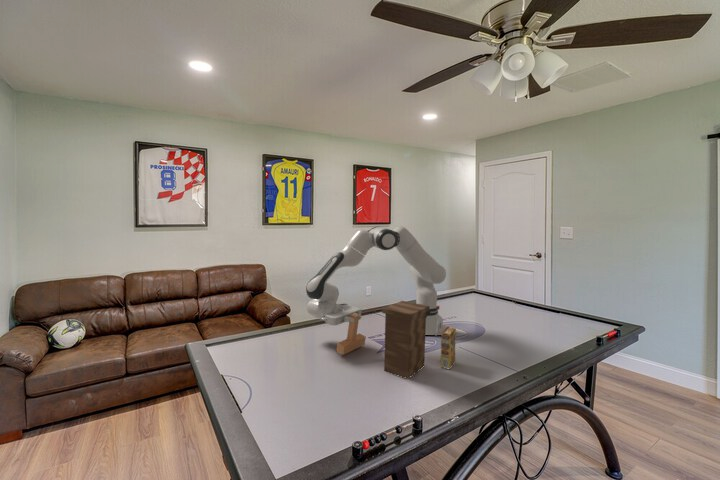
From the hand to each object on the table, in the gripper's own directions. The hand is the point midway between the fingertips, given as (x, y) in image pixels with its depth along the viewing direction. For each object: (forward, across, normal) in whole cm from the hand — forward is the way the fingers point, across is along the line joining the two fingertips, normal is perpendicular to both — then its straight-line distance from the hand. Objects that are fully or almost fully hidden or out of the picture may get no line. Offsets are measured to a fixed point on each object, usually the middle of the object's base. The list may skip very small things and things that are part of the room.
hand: (357, 319), depth 153 cm
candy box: (+38, +15, +16) cm, 44 cm away
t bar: (-4, 0, +6) cm, 7 cm away
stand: (+25, 0, +16) cm, 30 cm away
